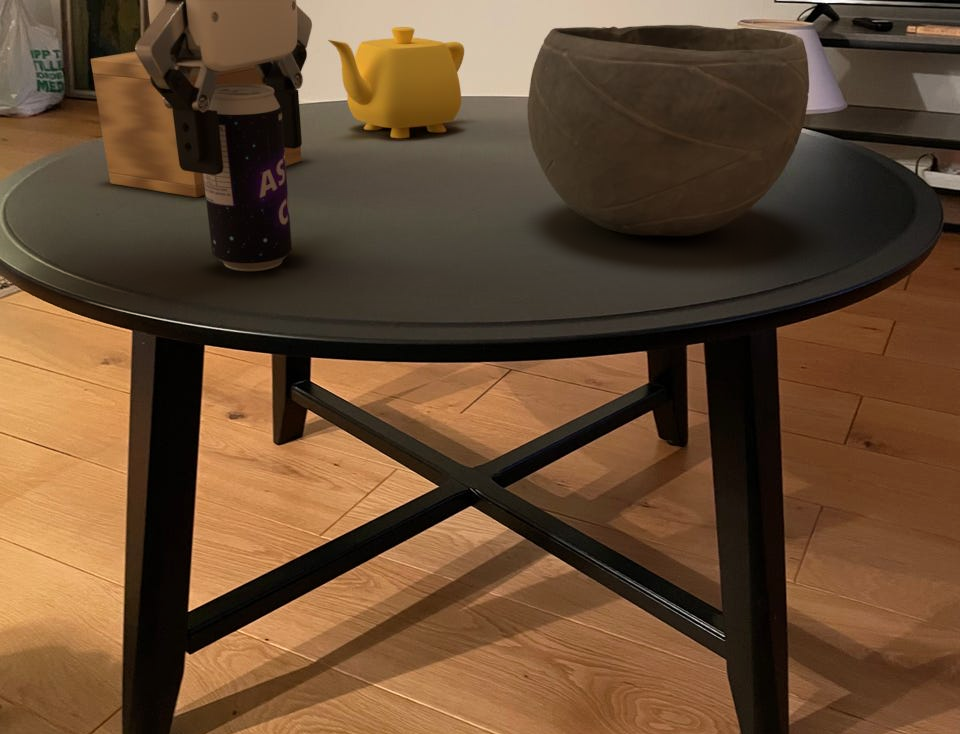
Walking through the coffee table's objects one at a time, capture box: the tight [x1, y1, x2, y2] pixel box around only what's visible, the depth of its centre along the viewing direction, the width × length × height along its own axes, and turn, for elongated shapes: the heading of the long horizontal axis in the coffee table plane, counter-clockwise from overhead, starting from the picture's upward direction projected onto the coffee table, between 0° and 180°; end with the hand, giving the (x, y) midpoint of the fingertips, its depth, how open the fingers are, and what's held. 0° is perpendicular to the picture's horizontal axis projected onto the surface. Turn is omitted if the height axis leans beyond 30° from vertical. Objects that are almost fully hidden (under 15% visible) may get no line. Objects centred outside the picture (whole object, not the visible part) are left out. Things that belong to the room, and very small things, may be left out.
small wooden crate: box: [90, 51, 302, 198], centre depth 95 cm, size 10×16×11 cm, turn 154°
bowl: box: [527, 24, 810, 237], centre depth 81 cm, size 21×21×15 cm
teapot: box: [327, 26, 465, 139], centre depth 114 cm, size 18×11×11 cm, turn 130°
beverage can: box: [203, 84, 293, 272], centre depth 72 cm, size 6×6×12 cm
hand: (243, 157), depth 71 cm, fingers open, 8 cm apart
